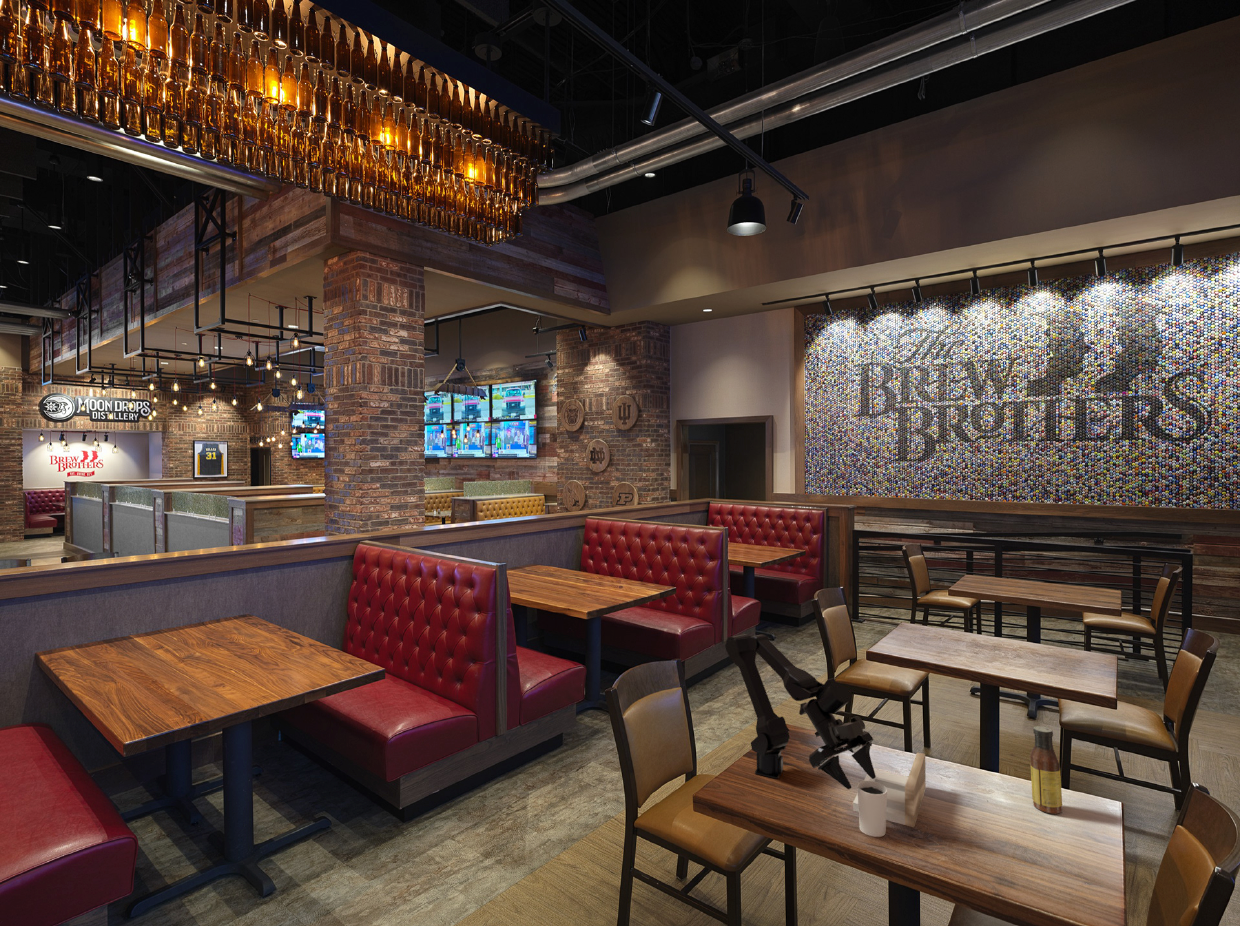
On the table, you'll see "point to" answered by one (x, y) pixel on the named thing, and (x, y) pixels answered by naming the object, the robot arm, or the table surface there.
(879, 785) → the white coffee cup
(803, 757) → the table surface
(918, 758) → the ash wall board
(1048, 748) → the sauce bottle
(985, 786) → the table surface
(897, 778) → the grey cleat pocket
